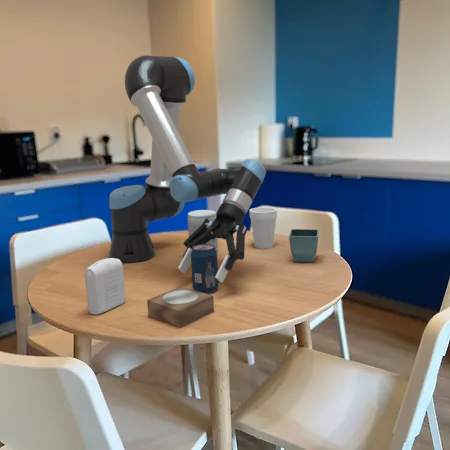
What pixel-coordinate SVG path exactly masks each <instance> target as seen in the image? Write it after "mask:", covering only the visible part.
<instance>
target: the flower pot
mask: <svg viewBox="0 0 450 450" xmlns="http://www.w3.org/2000/svg"><path fill="white" fill-rule="evenodd" d="M319 232H320V230H319V229H317V228H316V229H315V228H314V229H311V228H310V229H308V228H307V229H305V228H291V229H290V231H289V236H288V240H289V246H290V247H289V248H290V253H291V255H292V257H293V259H294V261H295V262H296V263H297V262H298V263H300V262H301V263H312V262H313V261H314V259H315V258H316V256H317V250H318V246H319V245H318V244H319Z"/></svg>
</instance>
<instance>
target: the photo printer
mask: <svg viewBox="0 0 450 450" xmlns="http://www.w3.org/2000/svg"><path fill="white" fill-rule="evenodd" d="M124 278H125V277H124V265H123V263H121V261H120V260H119V259H115V258H110V257H108V258H102V259H100V260H97V261H95V262H94V263H92V264H91V265H90V266H88V267H87V268H86V269H85V271H84V280H85V289H86V300H87V301H86V302H87V308H88V312H89V313H90V314H92V315H100V314H102V313H105V312H107V311H109V310H112V309H113V308H114V309H115V308H116V307H118V306H120V305H123V304H124V303H126V289H125V279H124Z"/></svg>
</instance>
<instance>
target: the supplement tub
mask: <svg viewBox="0 0 450 450" xmlns="http://www.w3.org/2000/svg"><path fill="white" fill-rule="evenodd" d="M216 213H217V211H215V210H209V209H198V210H197V209H196V210H192V211H189V212H188V213H187V228H188V230H187V231H188V238H189V237H190V236H191V235H192V234H193V233H194V232H195V231H196V230H197V229H198V228H199V227H200V226H201V225H202V224H203V222H204V220H205V219H208V220H209V221H212V222H213V221H214V220H215V219H216ZM211 233H212V232H211ZM212 234H213V233H212ZM218 239H219V238H215V239H211V240H210V241H208V242H207V243H205V244H211V245H214V248H215V250H216V252H217V256H218V255H219V241H218Z"/></svg>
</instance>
